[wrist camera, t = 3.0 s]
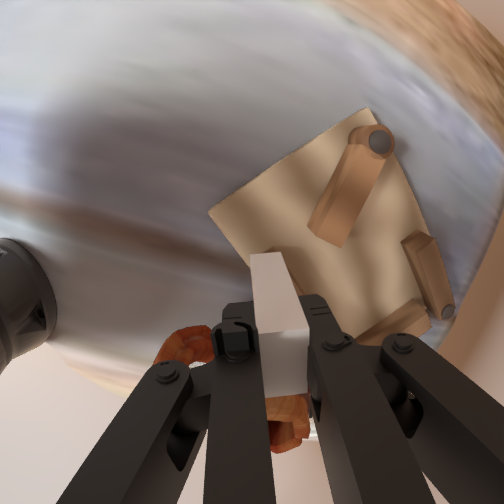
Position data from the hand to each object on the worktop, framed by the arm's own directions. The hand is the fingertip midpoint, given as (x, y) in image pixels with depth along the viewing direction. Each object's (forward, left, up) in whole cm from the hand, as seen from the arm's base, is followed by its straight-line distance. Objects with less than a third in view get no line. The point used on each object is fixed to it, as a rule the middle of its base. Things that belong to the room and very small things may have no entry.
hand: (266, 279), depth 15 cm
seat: (+6, -9, -14) cm, 18 cm away
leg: (+9, -2, -13) cm, 16 cm away
